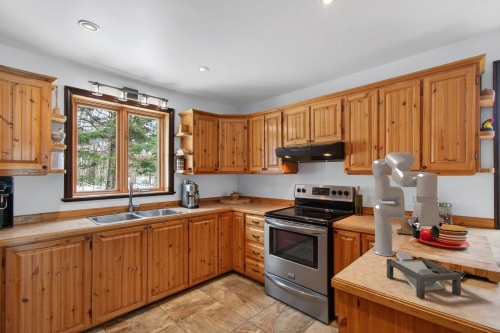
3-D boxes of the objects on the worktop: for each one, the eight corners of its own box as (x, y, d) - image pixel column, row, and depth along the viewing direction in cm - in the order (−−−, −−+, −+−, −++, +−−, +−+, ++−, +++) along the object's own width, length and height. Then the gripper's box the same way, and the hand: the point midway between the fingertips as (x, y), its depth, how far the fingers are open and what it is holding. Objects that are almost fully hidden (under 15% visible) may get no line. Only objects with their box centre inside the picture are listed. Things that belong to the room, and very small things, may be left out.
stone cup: (413, 232, 197) (413, 214, 197) (419, 236, 186) (419, 217, 186) (393, 230, 202) (393, 213, 202) (397, 234, 190) (397, 216, 190)
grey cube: (415, 275, 109) (420, 269, 106) (424, 275, 110) (429, 268, 107) (423, 286, 105) (428, 279, 102) (432, 285, 106) (438, 279, 103)
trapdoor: (388, 255, 120) (390, 252, 118) (412, 254, 122) (414, 251, 120) (414, 292, 104) (416, 289, 103) (442, 289, 106) (444, 287, 105)
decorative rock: (469, 276, 110) (429, 265, 119) (468, 288, 111) (428, 277, 120) (466, 261, 125) (430, 252, 134) (465, 272, 125) (429, 262, 135)
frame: (386, 277, 117) (386, 259, 117) (421, 274, 120) (421, 257, 120) (420, 299, 98) (420, 277, 98) (460, 295, 100) (460, 274, 100)
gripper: (435, 198, 111) (435, 234, 111) (402, 199, 108) (402, 236, 109) (451, 201, 103) (450, 239, 104) (416, 202, 101) (416, 241, 101)
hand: (425, 237), depth 106 cm, fingers open, 9 cm apart
